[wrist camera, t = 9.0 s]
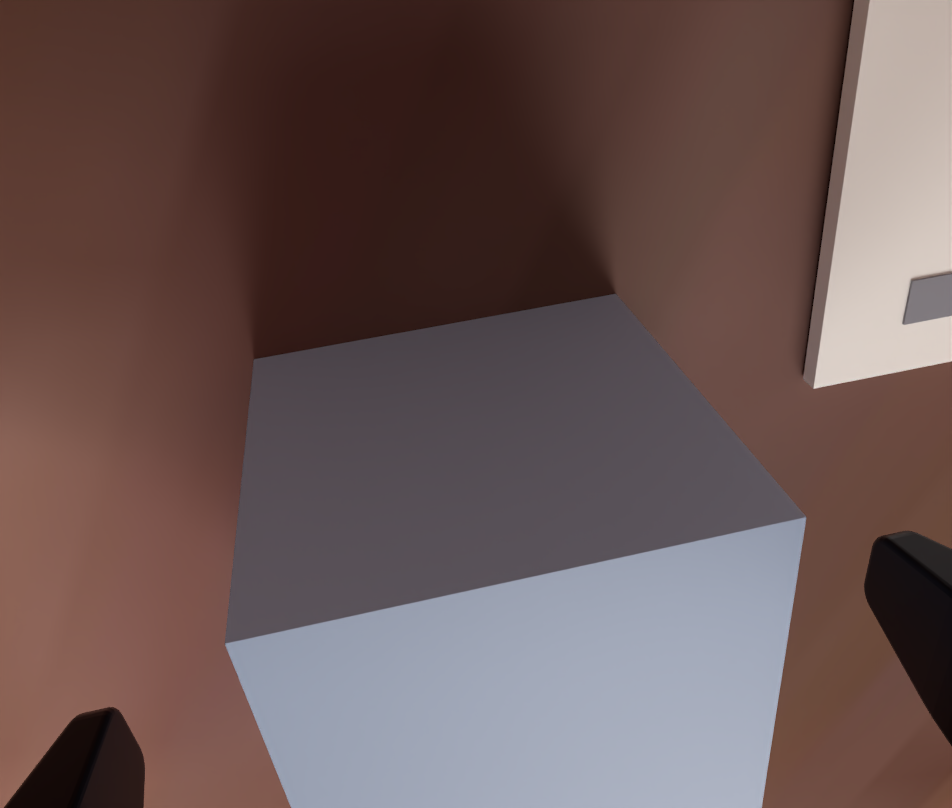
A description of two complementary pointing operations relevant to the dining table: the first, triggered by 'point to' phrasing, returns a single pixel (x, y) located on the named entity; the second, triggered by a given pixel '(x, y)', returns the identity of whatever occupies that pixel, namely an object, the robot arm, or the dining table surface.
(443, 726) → the slate blue cube
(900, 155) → the letter
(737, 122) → the dining table surface
